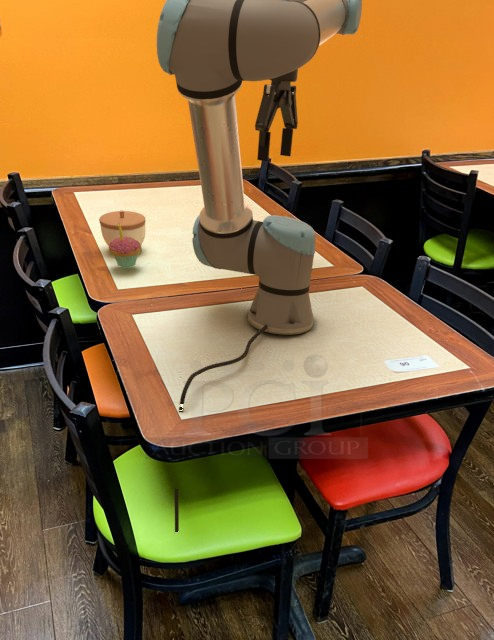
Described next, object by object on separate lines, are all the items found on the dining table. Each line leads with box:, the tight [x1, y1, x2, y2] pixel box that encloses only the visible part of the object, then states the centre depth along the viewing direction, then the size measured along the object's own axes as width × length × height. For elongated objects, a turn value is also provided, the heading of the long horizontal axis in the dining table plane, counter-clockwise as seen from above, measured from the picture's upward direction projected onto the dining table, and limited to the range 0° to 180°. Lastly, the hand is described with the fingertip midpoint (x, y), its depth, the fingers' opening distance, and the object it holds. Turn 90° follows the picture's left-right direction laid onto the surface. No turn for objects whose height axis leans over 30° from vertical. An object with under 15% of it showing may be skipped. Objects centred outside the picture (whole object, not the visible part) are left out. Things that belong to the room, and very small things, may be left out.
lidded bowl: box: [98, 209, 146, 247], centre depth 160 cm, size 13×13×11 cm
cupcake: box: [108, 222, 142, 269], centre depth 149 cm, size 9×8×12 cm
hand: (274, 158), depth 146 cm, fingers open, 13 cm apart
